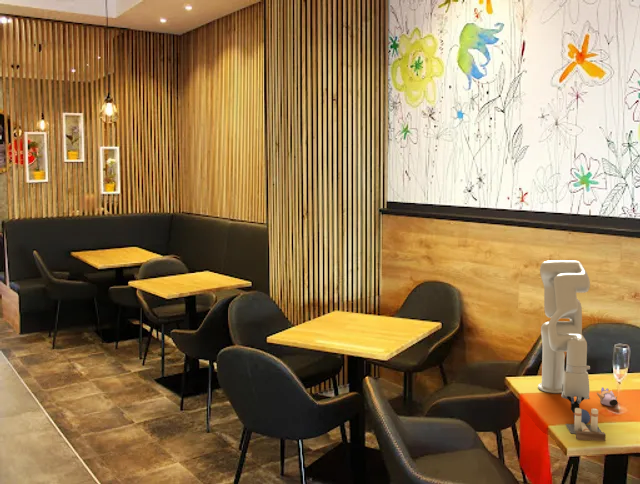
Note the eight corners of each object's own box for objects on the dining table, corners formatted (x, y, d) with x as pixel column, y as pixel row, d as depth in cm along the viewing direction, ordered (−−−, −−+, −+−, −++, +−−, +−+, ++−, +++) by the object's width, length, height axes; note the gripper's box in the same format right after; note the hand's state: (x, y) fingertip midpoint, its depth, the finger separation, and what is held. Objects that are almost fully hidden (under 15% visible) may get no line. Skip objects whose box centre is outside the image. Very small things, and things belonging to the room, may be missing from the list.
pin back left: (589, 430, 250) (590, 408, 249) (596, 431, 250) (597, 408, 249) (591, 433, 248) (592, 410, 247) (598, 433, 247) (599, 410, 246)
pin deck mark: (565, 424, 257) (565, 424, 257) (597, 425, 255) (597, 425, 255) (570, 433, 248) (570, 433, 248) (603, 434, 246) (603, 434, 246)
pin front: (577, 423, 253) (583, 432, 244) (583, 420, 253) (589, 429, 244) (580, 429, 253) (586, 438, 244) (586, 426, 253) (592, 435, 244)
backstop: (575, 437, 244) (576, 431, 244) (603, 438, 243) (604, 432, 243) (577, 439, 242) (577, 433, 242) (605, 440, 241) (605, 434, 241)
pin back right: (573, 430, 251) (574, 407, 250) (580, 430, 251) (580, 408, 250) (574, 432, 249) (575, 410, 248) (581, 433, 248) (582, 410, 247)
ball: (577, 417, 253) (573, 427, 256) (593, 419, 252) (589, 428, 256) (574, 405, 257) (571, 414, 261) (590, 406, 257) (586, 416, 260)
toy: (615, 386, 285) (627, 399, 270) (612, 399, 286) (624, 413, 271) (593, 383, 286) (604, 396, 271) (591, 396, 287) (601, 410, 272)
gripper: (592, 366, 266) (591, 409, 268) (555, 365, 268) (553, 408, 270) (598, 372, 259) (596, 416, 261) (559, 370, 261) (557, 414, 263)
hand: (574, 412), depth 266 cm, fingers closed
